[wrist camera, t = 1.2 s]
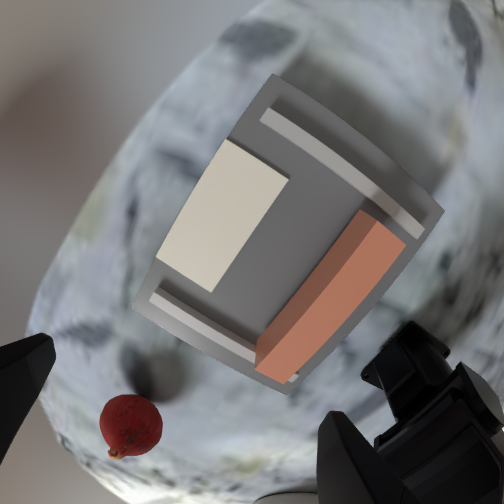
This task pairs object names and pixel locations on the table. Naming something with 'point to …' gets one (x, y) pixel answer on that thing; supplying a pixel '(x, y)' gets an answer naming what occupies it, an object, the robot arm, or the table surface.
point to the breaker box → (276, 227)
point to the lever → (327, 297)
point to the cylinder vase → (290, 499)
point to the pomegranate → (130, 425)
